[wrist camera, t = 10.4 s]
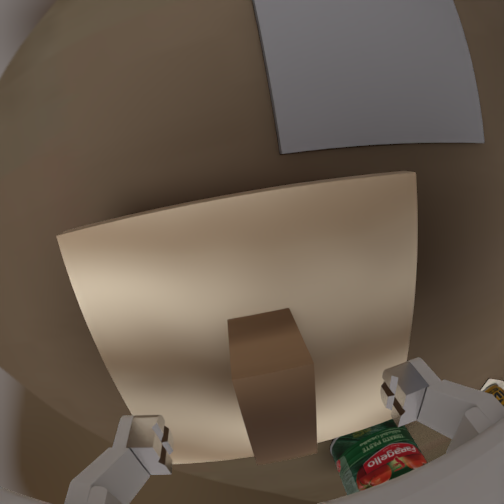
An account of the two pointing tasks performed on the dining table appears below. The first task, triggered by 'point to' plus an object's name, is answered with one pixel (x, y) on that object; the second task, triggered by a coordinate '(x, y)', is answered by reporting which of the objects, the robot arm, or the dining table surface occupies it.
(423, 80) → the mat
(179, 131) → the dining table surface
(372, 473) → the canned tomato
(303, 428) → the lid
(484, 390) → the condiment
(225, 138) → the dining table surface
